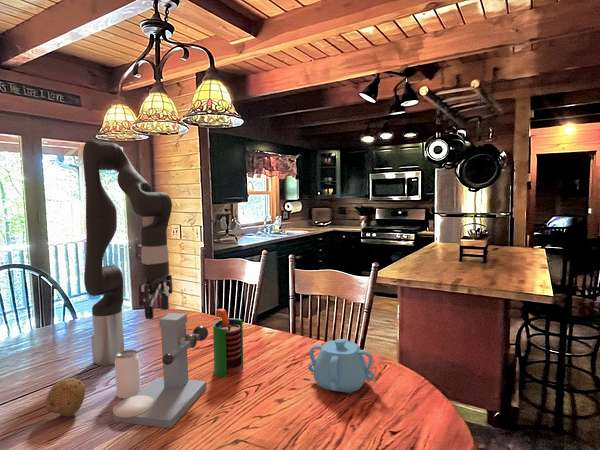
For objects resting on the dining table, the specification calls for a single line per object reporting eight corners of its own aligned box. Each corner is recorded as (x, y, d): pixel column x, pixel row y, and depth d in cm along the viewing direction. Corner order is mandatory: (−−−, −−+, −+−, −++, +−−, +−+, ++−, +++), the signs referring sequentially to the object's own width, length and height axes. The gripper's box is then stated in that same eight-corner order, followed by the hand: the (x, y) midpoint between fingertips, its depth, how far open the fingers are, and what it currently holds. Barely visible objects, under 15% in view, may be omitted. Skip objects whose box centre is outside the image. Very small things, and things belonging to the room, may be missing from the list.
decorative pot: (353, 368, 126) (352, 327, 125) (378, 391, 111) (378, 345, 110) (306, 377, 121) (305, 334, 120) (326, 403, 106) (325, 354, 105)
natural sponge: (46, 430, 96) (43, 392, 95) (47, 413, 103) (44, 377, 103) (88, 418, 101) (85, 381, 100) (85, 403, 108) (83, 368, 107)
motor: (235, 378, 121) (233, 316, 119) (209, 376, 123) (206, 314, 121) (246, 364, 131) (244, 306, 129) (221, 362, 132) (219, 305, 131)
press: (104, 422, 99) (98, 337, 97) (152, 382, 119) (148, 311, 117) (168, 430, 95) (164, 342, 93) (206, 387, 115) (203, 314, 113)
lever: (157, 369, 98) (156, 352, 97) (197, 337, 119) (196, 323, 118) (173, 370, 97) (172, 353, 96) (210, 338, 118) (210, 323, 117)
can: (121, 388, 116) (119, 349, 115) (144, 387, 116) (141, 348, 115) (113, 400, 109) (110, 359, 108) (136, 398, 110) (134, 358, 109)
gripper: (156, 255, 121) (158, 306, 123) (128, 264, 107) (131, 321, 109) (178, 256, 120) (180, 307, 122) (153, 265, 106) (156, 322, 108)
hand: (157, 313), depth 115 cm, fingers open, 8 cm apart
